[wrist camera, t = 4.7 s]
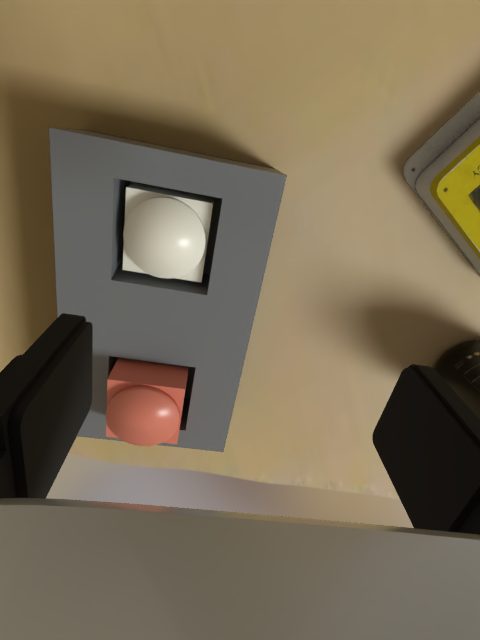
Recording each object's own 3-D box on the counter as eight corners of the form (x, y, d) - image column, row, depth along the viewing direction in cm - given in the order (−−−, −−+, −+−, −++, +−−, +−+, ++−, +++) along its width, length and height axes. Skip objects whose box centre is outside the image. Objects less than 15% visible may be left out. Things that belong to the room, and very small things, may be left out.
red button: (118, 358, 26) (104, 384, 23) (188, 367, 27) (184, 394, 24) (115, 412, 28) (103, 442, 26) (180, 420, 29) (176, 450, 26)
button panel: (82, 129, 23) (49, 127, 19) (275, 169, 25) (286, 175, 20) (84, 394, 33) (62, 434, 28) (223, 411, 34) (223, 451, 30)
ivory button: (135, 182, 23) (123, 188, 21) (214, 197, 24) (212, 205, 21) (131, 258, 26) (120, 272, 23) (203, 269, 26) (200, 285, 23)
